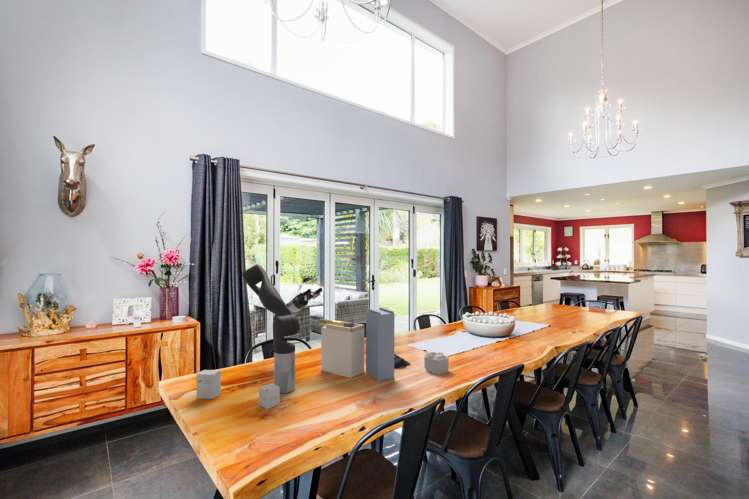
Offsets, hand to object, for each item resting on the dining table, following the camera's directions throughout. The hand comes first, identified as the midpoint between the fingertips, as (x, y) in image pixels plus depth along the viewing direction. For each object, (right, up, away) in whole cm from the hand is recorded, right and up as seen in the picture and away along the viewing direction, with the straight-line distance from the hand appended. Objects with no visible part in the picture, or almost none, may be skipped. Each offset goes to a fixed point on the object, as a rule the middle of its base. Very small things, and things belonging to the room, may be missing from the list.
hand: (316, 289), depth 188 cm
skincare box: (-12, -42, -45) cm, 63 cm away
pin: (+10, -20, -1) cm, 22 cm away
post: (+34, -42, -10) cm, 55 cm away
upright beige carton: (+15, -42, -5) cm, 45 cm away
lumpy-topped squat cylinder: (+64, -43, -1) cm, 77 cm away
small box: (-40, -42, -37) cm, 69 cm away
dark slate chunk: (+40, -43, +11) cm, 60 cm away
